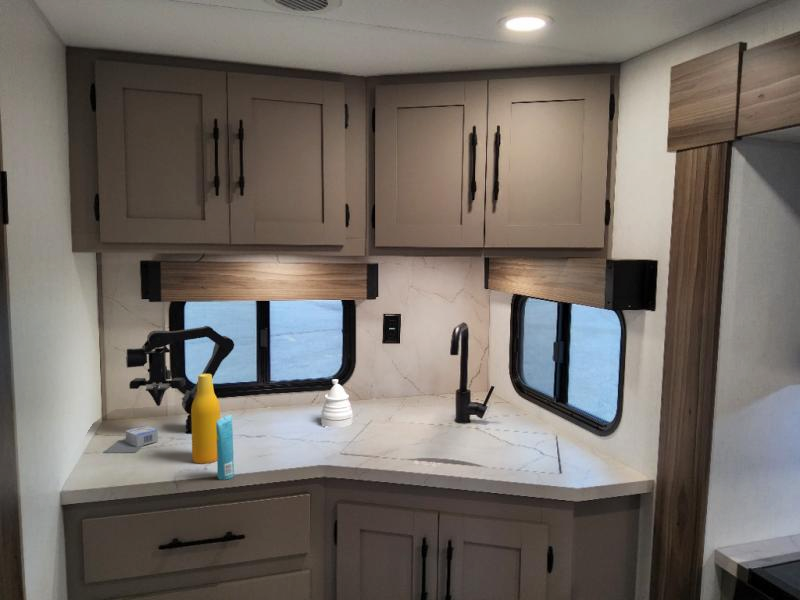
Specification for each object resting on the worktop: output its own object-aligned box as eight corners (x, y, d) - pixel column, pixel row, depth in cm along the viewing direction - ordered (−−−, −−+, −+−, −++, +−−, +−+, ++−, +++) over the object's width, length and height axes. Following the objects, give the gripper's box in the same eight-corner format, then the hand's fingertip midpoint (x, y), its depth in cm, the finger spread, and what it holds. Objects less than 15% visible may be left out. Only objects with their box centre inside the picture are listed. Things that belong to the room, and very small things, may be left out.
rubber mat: (149, 440, 205) (149, 440, 205) (135, 452, 193) (135, 452, 193) (118, 441, 205) (118, 440, 205) (103, 453, 193) (102, 452, 193)
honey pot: (316, 422, 230) (316, 379, 228) (343, 417, 237) (344, 375, 235) (330, 431, 219) (330, 386, 217) (358, 425, 226) (358, 382, 224)
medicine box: (137, 435, 197) (124, 430, 202) (137, 447, 198) (125, 442, 203) (158, 430, 203) (145, 424, 209) (158, 441, 204) (146, 436, 209)
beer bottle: (223, 453, 194) (221, 371, 191) (218, 463, 185) (216, 378, 182) (195, 454, 193) (193, 372, 190) (189, 464, 184) (187, 378, 181)
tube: (225, 471, 179) (224, 413, 177) (238, 473, 177) (237, 414, 176) (212, 480, 171) (210, 420, 170) (226, 482, 170) (225, 421, 168)
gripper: (189, 360, 216) (190, 399, 218) (140, 360, 215) (141, 399, 216) (180, 366, 205) (181, 407, 207) (127, 366, 204) (129, 408, 205)
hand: (158, 405), depth 209 cm, fingers closed
